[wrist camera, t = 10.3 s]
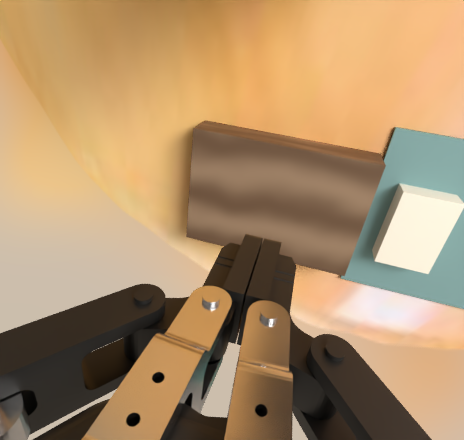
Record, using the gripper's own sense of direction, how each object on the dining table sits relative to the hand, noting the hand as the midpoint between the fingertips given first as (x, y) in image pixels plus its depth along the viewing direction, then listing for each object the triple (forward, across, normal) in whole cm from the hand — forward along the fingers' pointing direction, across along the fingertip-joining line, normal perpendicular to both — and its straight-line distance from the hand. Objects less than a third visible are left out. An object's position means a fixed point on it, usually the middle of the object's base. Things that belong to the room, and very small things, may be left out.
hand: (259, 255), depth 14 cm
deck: (+27, +1, +9) cm, 28 cm away
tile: (+24, -15, +9) cm, 30 cm away
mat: (+27, -18, +9) cm, 34 cm away
